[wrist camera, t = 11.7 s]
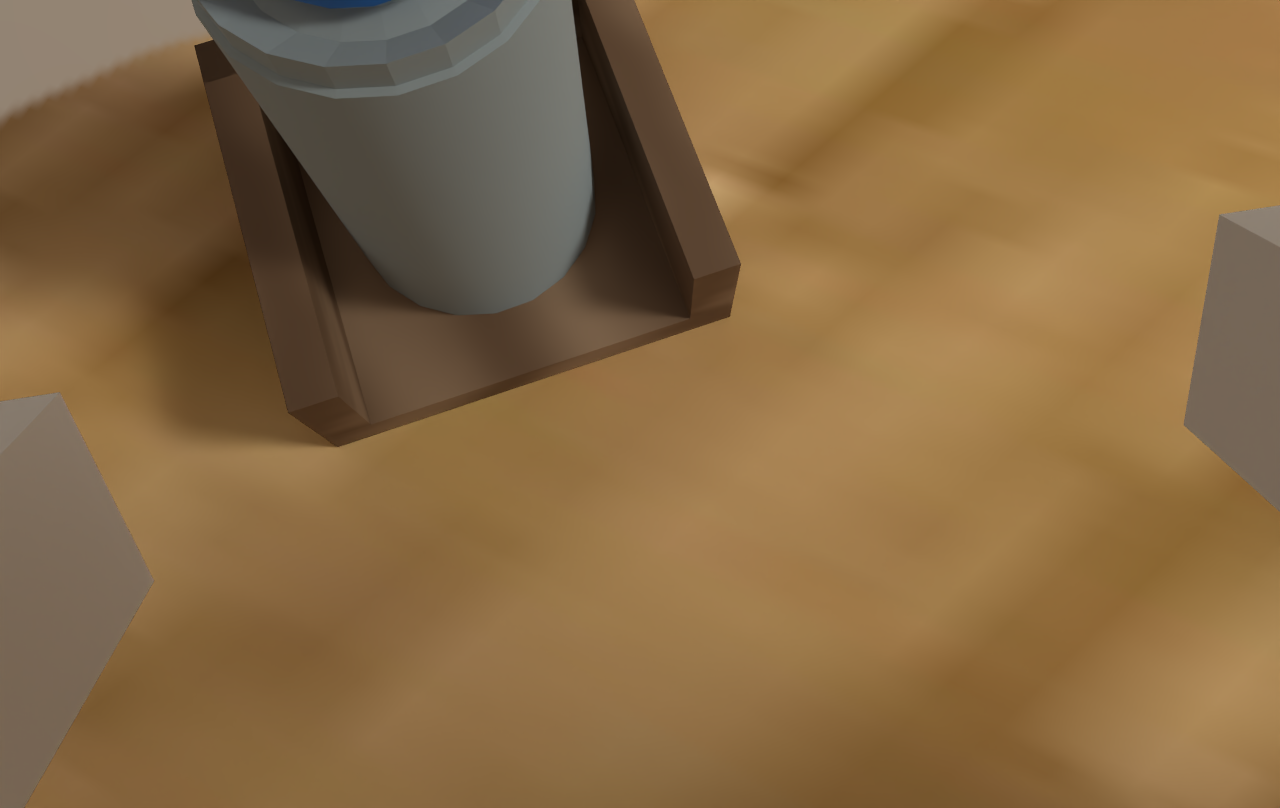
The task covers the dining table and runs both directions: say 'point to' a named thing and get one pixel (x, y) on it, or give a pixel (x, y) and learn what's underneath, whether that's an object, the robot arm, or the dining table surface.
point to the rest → (481, 343)
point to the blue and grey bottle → (430, 133)
